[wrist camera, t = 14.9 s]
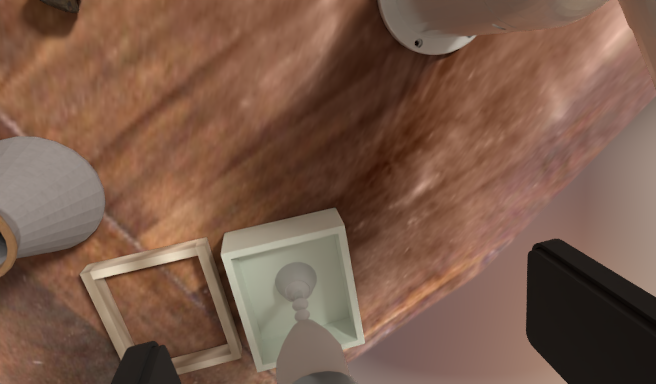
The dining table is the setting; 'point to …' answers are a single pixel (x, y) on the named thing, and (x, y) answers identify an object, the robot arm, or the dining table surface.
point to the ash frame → (200, 247)
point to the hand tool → (63, 5)
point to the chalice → (307, 336)
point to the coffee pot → (45, 198)
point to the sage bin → (265, 262)
